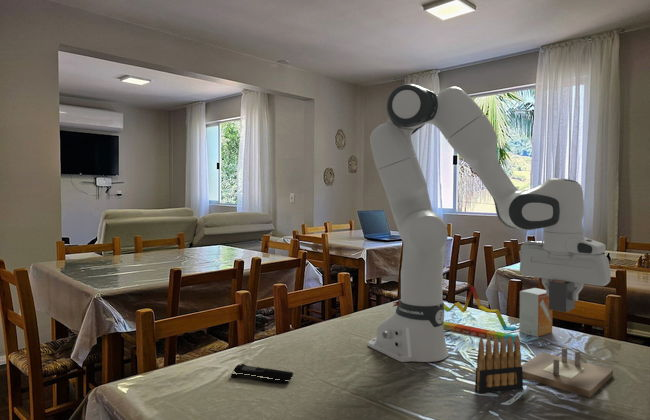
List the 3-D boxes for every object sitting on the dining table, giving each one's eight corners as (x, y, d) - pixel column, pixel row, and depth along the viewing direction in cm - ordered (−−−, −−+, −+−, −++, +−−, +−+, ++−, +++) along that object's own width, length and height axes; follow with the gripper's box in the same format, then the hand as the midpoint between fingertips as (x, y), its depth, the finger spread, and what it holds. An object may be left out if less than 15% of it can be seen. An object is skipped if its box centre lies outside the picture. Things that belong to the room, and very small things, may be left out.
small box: (538, 337, 132) (538, 294, 132) (518, 332, 137) (519, 290, 137) (553, 332, 137) (553, 291, 136) (533, 327, 142) (534, 287, 141)
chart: (417, 324, 147) (417, 280, 146) (422, 322, 149) (422, 278, 149) (512, 344, 127) (512, 293, 127) (516, 341, 130) (516, 291, 129)
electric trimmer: (289, 389, 100) (289, 375, 100) (229, 379, 106) (229, 365, 105) (295, 382, 104) (295, 369, 104) (238, 373, 109) (238, 360, 109)
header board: (515, 375, 105) (515, 354, 105) (542, 357, 116) (542, 339, 116) (589, 397, 94) (590, 374, 93) (612, 376, 104) (613, 355, 104)
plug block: (548, 309, 110) (549, 280, 110) (557, 305, 114) (558, 277, 114) (566, 312, 107) (566, 282, 107) (574, 308, 111) (575, 279, 111)
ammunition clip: (518, 385, 100) (518, 333, 99) (523, 389, 98) (523, 335, 98) (474, 390, 98) (475, 336, 97) (479, 393, 96) (479, 339, 96)
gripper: (515, 241, 116) (515, 293, 116) (605, 248, 101) (604, 308, 101) (526, 239, 120) (525, 289, 120) (613, 245, 105) (612, 303, 105)
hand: (562, 298), depth 111 cm, fingers closed on plug block, 4 cm apart
